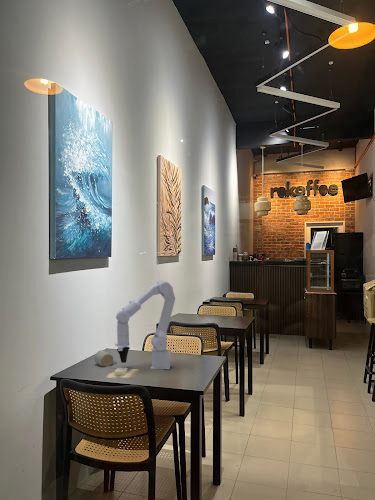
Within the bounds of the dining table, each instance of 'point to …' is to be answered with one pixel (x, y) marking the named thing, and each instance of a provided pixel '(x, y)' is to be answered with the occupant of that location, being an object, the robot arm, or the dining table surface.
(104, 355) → the ceramic mug
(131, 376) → the board
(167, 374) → the dining table surface
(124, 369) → the tile
